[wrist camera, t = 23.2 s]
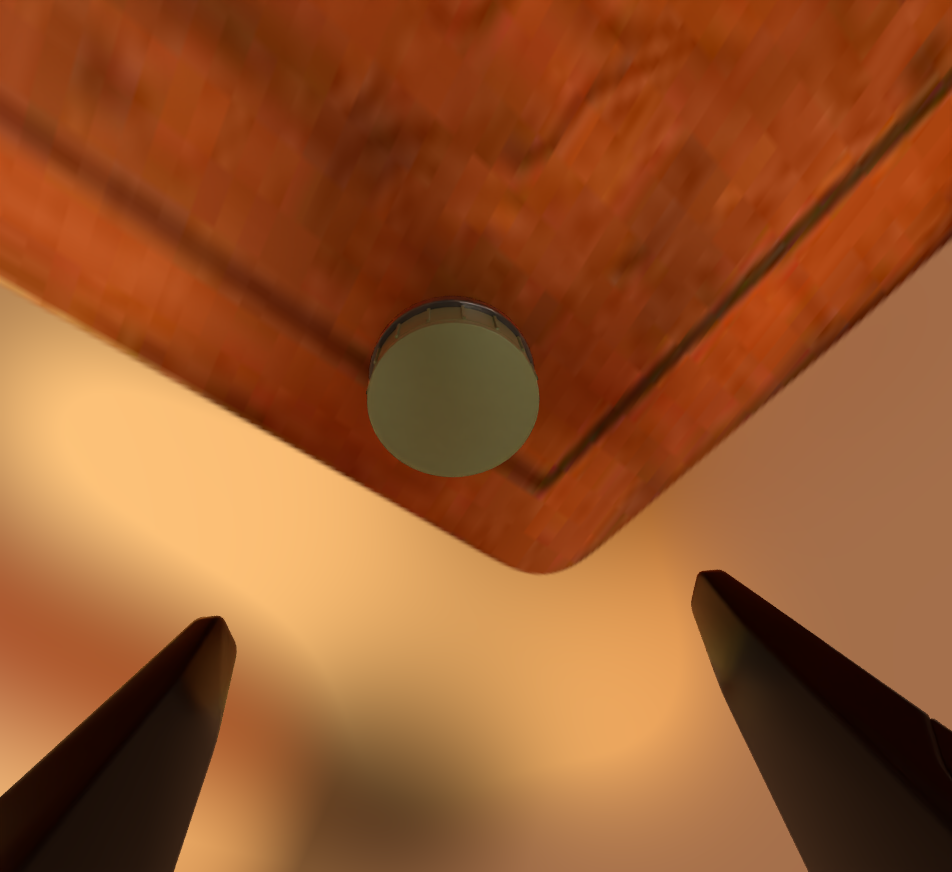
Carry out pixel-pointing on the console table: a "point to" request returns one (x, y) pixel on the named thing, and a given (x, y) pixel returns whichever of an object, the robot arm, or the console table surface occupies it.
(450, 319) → the lid
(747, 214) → the console table surface
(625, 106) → the console table surface
